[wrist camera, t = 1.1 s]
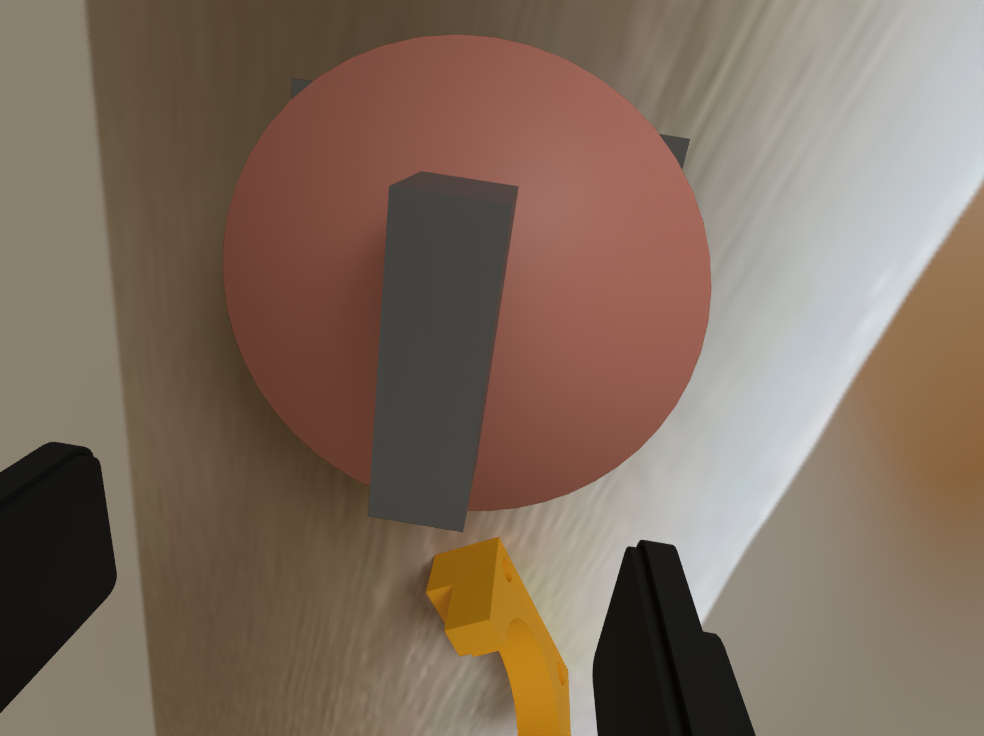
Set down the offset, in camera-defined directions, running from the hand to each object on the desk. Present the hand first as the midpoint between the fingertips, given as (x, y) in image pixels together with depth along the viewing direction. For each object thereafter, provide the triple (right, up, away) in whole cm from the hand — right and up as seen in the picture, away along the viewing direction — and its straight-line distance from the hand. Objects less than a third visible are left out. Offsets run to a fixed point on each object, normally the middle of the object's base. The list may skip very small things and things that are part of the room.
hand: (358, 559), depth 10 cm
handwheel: (+1, +6, +12) cm, 14 cm away
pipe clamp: (+3, -13, +28) cm, 31 cm away
